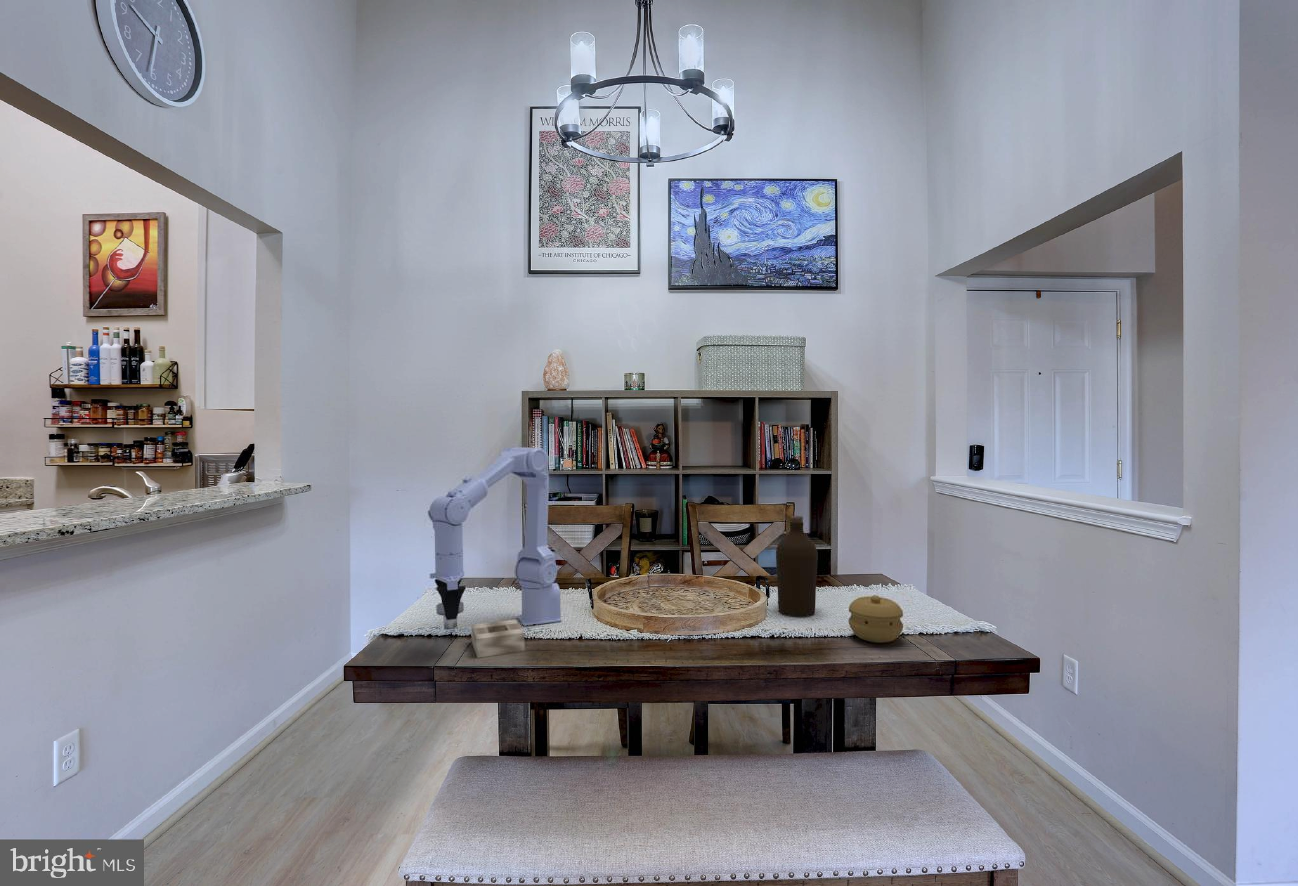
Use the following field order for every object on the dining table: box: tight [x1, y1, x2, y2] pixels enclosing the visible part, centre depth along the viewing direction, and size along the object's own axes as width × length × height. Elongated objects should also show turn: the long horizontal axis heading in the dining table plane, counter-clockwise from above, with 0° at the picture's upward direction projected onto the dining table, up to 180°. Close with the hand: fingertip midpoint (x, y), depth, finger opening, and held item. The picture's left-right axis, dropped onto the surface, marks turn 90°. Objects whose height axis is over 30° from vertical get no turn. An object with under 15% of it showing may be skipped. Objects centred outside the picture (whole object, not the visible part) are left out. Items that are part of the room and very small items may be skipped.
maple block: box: [471, 618, 526, 658], centre depth 137 cm, size 10×10×4 cm
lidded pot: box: [847, 594, 904, 644], centre depth 140 cm, size 12×12×10 cm
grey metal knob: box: [435, 601, 465, 631], centre depth 133 cm, size 6×6×5 cm
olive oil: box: [775, 515, 819, 618], centre depth 161 cm, size 11×11×25 cm
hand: (450, 614), depth 133 cm, fingers closed on grey metal knob, 6 cm apart
